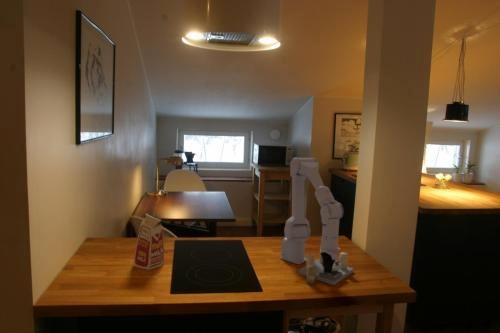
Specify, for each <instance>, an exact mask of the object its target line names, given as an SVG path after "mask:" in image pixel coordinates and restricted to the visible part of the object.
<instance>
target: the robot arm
mask: <svg viewBox="0 0 500 333" xmlns="http://www.w3.org/2000/svg"><path fill="white" fill-rule="evenodd" d="M289 167H290V168H289V174H290V175H289V176H290V177H291V216H290V217H289V218H288V219H287V220H285V225H284V229H283V234H284V238H283V239H282V242H281V253H280V257H279V259H280V260H283V261H286V262H290V263H293V264H295V265H301V264H302V263H305V262H306V259H307V257H305V252H306V248H305V247H306V241H307V240H308V239H309V237H310V235H311V228H310V221H309V220H308V219H307V218H306V217H305V180H306V179H307V178H308V179H309V181H310V183H311V185H312V186H313V188H314V189H315V190H314V196H315V198H316V200H317V202H318V205H319V206H320V210H319V213H320V217H321V223H322V230H321V231H322V233H321V242H320V247H321V250H322V251H324V252H321V253H320V252H319V255H320V254H321V256H322V259H323V264H324V271H325V273H331V271H332V267H333V264H334V262H335V261H336V260H337V261H339V253H338V252H339V251H341V248H340V247H339V246H338V245H339V244H338V242H339V228H340V219H341V218H343V215H344V207H343V204H342V203H340V202H338V201H337V200H335V197H334V196H333V193H332V191H331V190H330V188H329V187H328V186H326V185H325V184H324V182H323V180H322V178H321V174H320V173H319V167H320V166H319V162H318V160H317V158H316V157H296V156H295V157H293V158H292V159H291V161H290V165H289Z"/></svg>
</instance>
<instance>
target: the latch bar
mask: <svg viewBox="0 0 500 333" xmlns="http://www.w3.org/2000/svg"><path fill="white" fill-rule="evenodd" d="M341 267H342V264H341V263H339V264H336V263H335V262H334V264H333V267H332V271H331V273H333V272H335V271H337V270H339V269H341ZM323 272H324V273H325V271H324V268H323ZM331 273H327V274H331Z"/></svg>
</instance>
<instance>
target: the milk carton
mask: <svg viewBox="0 0 500 333" xmlns="http://www.w3.org/2000/svg"><path fill="white" fill-rule="evenodd" d="M161 221H162V219H159V218H156V217H153V216H152V215H149V213H145V217H144V219H143V220H142V221H141V222H140V226H139V230H138V235H137V239H136V240H137V241H136V246H135V252H134V257H133V263H132V264H133V265H132V266H133V267H136V268H140V269H143V270H147V271H150V270H152V269H155V268H159V267H161V266H163V264H165V263H166V262H165V243H164V242H165V241H164V231H163V224H162V223H161Z"/></svg>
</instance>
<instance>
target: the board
mask: <svg viewBox="0 0 500 333" xmlns="http://www.w3.org/2000/svg"><path fill="white" fill-rule="evenodd" d="M321 252H324V251H322V250H321V246H320V247H319V258H317V259H316V260H315V256H316V255H315V253H309V252H308V253H306V258H307V259H306V261H305V266H303V267H301V268H300V269H298V275H302V276H305V277H306V276H307V266H308V265H313V266H315V280H318V281H321V282H323V283H327V284H328V285H332V286H335V285H337V284H338V283H340V282H341V281H343V280H344V279H345V278H347V277H348V276H350V275H351V274H352V273H354V267H351V266H350V267H349V266H348V261H349V260H348V258H349V253H348V252H340V253H339V260H335V263H336V264H339V263H341V264H342V267H341V269H339V270H337V271H335V272H333V273H331V274H327V273H324V272H323V268H324V264H323V259H322V256H321V254H320V253H321Z"/></svg>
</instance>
